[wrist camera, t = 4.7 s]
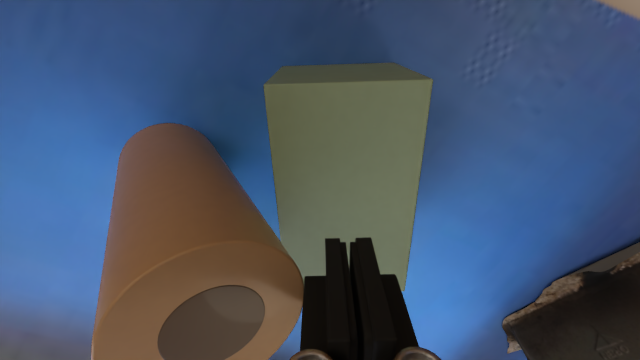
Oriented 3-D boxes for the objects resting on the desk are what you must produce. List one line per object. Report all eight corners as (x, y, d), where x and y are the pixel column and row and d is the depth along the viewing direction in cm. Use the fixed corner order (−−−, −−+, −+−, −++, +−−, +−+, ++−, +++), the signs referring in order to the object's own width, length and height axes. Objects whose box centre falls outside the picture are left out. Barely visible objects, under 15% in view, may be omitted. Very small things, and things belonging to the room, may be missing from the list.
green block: (294, 225, 24) (286, 294, 18) (281, 66, 18) (263, 84, 12) (382, 222, 24) (405, 291, 18) (394, 62, 18) (433, 79, 12)
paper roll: (164, 193, 23) (-88, 410, 10) (141, 116, 20) (-248, 275, 7) (330, 197, 22) (291, 455, 9) (328, 115, 19) (269, 310, 6)
